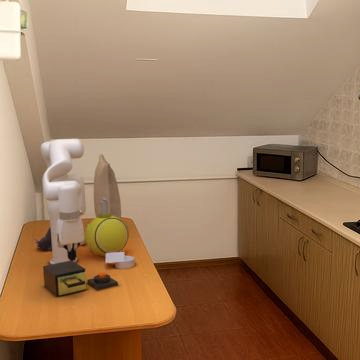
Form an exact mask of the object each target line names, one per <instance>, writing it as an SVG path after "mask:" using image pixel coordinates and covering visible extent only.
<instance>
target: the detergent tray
mask: <svg viewBox="0 0 360 360" xmlns="http://www.w3.org/2000/svg"><path fill="white" fill-rule="evenodd" d="M86 275H87V274H86V271H85V272H76V273H71V274H67V275H62V276H58V277H57V283H58V295H61V296H64V295H63V294H66V295H68V294H67V293H70V294H73V293H72V292H74V293H77V292H76V291H78V292H81V291H80V290H82V291H85V290H84V289H86V290H87V276H86Z"/></svg>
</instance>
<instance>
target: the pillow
mask: <svg viewBox="0 0 360 360" xmlns="http://www.w3.org/2000/svg"><path fill="white" fill-rule="evenodd" d="M120 195H121V194H120V191H119V186H118V182H117V178H116V174H115V171H114V169H113V168H112V167H111V164H110V163H109V162H108V161H107V159H106V158H105V156H104V155H103V154H99V155H98V162H97V164H96V167H95V170H94V177H93V207H94V214H95V218H97V217H98V215H99V214H100V213H101V202H100V199H102V198H103V197H104V198H106V199H107V201H108V213H110V214H111V215H112V216H115V217H117V218H119V219H120V220H121V221H122V206H121V205H122V203H121V196H120Z"/></svg>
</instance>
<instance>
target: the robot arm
mask: <svg viewBox="0 0 360 360" xmlns="http://www.w3.org/2000/svg"><path fill="white" fill-rule="evenodd" d="M84 152H85V148H84V144H83V141H82V140H81V139H80V138H58V139H54V140H49V141H45V142H43V143H41V145H40V153H41V156H42V158H43V160H44V162H45V164H46V167H47V169H46V170H45V171H44V173H43V175H42V179H41V180H42V192H43V197H44V198H45V199H46V201H48V202H47V204H46V208H47V209H46V210H47V213H48V218H49V225H50V226H49V228H50V227H51V240H52V250H51V251H52V258H50V260H49V265H51V264H56V263H61V262H66V261H74V262H75V263H77V261H78V258H77V251H78V248H79V247H80V246H81V245H83V244H84V243H85V244H86V242H85V241H84V230H85V228H84V224H83V219H82V217H81V216H83V215H85V214H86V211H87V210H86V208H87V204H86V190H85V189H86V188H85V187H86V186H85V181H84V178H83V176H82V175H81V174H78V173H77V174H76V173H72V174H68V173H70V172H71V171H72V170H73V161H72V160H74V159H81V158H82V157H84ZM85 244H84V245H85Z"/></svg>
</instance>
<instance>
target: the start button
mask: <svg viewBox="0 0 360 360" xmlns="http://www.w3.org/2000/svg"><path fill="white" fill-rule="evenodd" d="M106 274H107V273H106V272H104V271H103V272H98V273H97V275H98V278H106Z"/></svg>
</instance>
